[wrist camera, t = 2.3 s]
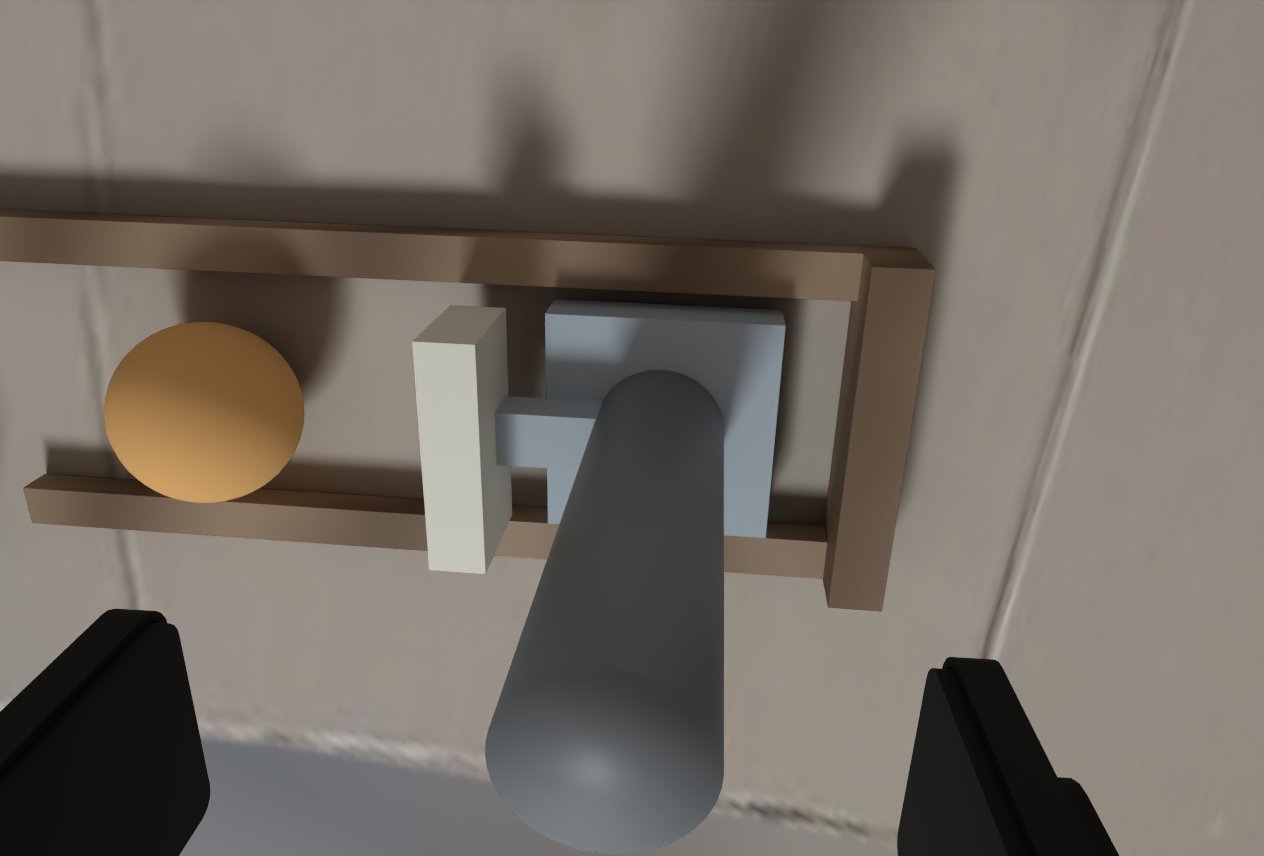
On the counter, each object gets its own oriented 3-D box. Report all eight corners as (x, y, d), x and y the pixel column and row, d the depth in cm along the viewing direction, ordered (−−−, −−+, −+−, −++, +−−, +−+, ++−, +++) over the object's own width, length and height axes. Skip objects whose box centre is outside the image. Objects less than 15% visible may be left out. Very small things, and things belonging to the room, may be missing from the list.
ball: (322, 305, 21) (236, 360, 17) (340, 461, 22) (265, 542, 19) (157, 297, 21) (39, 349, 18) (186, 452, 23) (82, 529, 19)
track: (915, 248, 19) (935, 270, 17) (869, 565, 22) (881, 611, 20) (-24, 208, 21) (-96, 223, 19) (53, 507, 24) (-3, 546, 22)
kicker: (782, 310, 20) (845, 599, 9) (763, 512, 22) (798, 936, 11) (461, 294, 20) (189, 551, 10) (472, 494, 22) (253, 881, 12)
